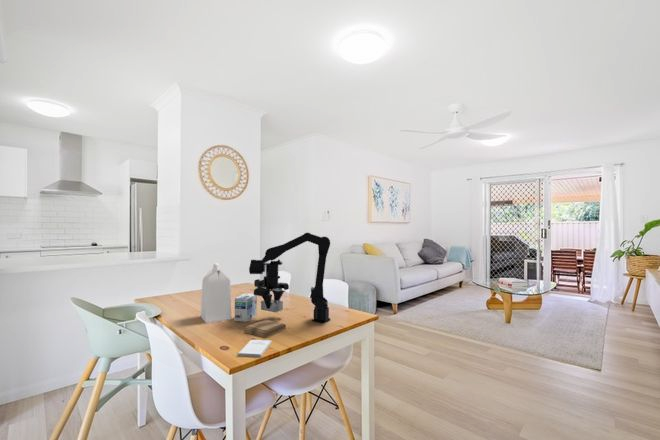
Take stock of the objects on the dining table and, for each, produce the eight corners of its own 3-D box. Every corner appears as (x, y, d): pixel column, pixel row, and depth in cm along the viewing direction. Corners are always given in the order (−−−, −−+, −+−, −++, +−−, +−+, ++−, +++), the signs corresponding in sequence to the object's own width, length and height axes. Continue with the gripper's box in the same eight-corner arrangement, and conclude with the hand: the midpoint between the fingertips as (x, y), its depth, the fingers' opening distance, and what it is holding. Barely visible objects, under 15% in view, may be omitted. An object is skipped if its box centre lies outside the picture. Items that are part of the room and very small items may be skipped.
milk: (231, 318, 141) (232, 264, 142) (206, 323, 135) (206, 266, 135) (224, 312, 151) (225, 261, 152) (200, 316, 145) (201, 263, 145)
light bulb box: (247, 322, 136) (247, 298, 137) (233, 321, 138) (234, 298, 138) (257, 315, 147) (257, 293, 147) (244, 314, 148) (245, 293, 149)
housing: (282, 309, 139) (282, 300, 139) (275, 312, 135) (275, 302, 135) (268, 307, 144) (268, 297, 144) (261, 309, 139) (261, 299, 140)
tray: (285, 329, 127) (285, 323, 128) (266, 337, 117) (266, 331, 117) (264, 324, 134) (264, 318, 134) (244, 332, 123) (244, 326, 123)
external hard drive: (237, 357, 101) (250, 343, 113) (260, 359, 100) (271, 344, 112) (237, 353, 101) (250, 339, 113) (260, 354, 100) (271, 340, 112)
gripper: (272, 270, 152) (272, 300, 152) (245, 275, 136) (244, 309, 135) (289, 272, 146) (289, 303, 146) (263, 277, 130) (262, 313, 130)
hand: (271, 307), depth 139 cm, fingers closed on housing, 5 cm apart
